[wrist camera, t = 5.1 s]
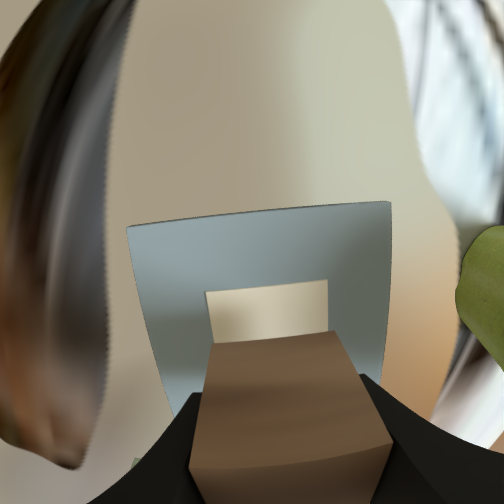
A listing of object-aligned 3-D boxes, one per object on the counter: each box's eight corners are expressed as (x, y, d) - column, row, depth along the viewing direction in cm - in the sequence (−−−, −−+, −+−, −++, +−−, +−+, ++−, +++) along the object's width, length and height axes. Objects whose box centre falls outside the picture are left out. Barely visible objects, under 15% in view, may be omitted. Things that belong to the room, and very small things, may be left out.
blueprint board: (372, 399, 15) (376, 407, 14) (179, 420, 15) (177, 428, 14) (385, 200, 12) (392, 202, 11) (130, 225, 12) (124, 228, 11)
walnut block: (330, 415, 10) (362, 517, 5) (228, 426, 10) (223, 534, 5) (334, 330, 9) (393, 442, 5) (211, 343, 9) (188, 468, 5)
